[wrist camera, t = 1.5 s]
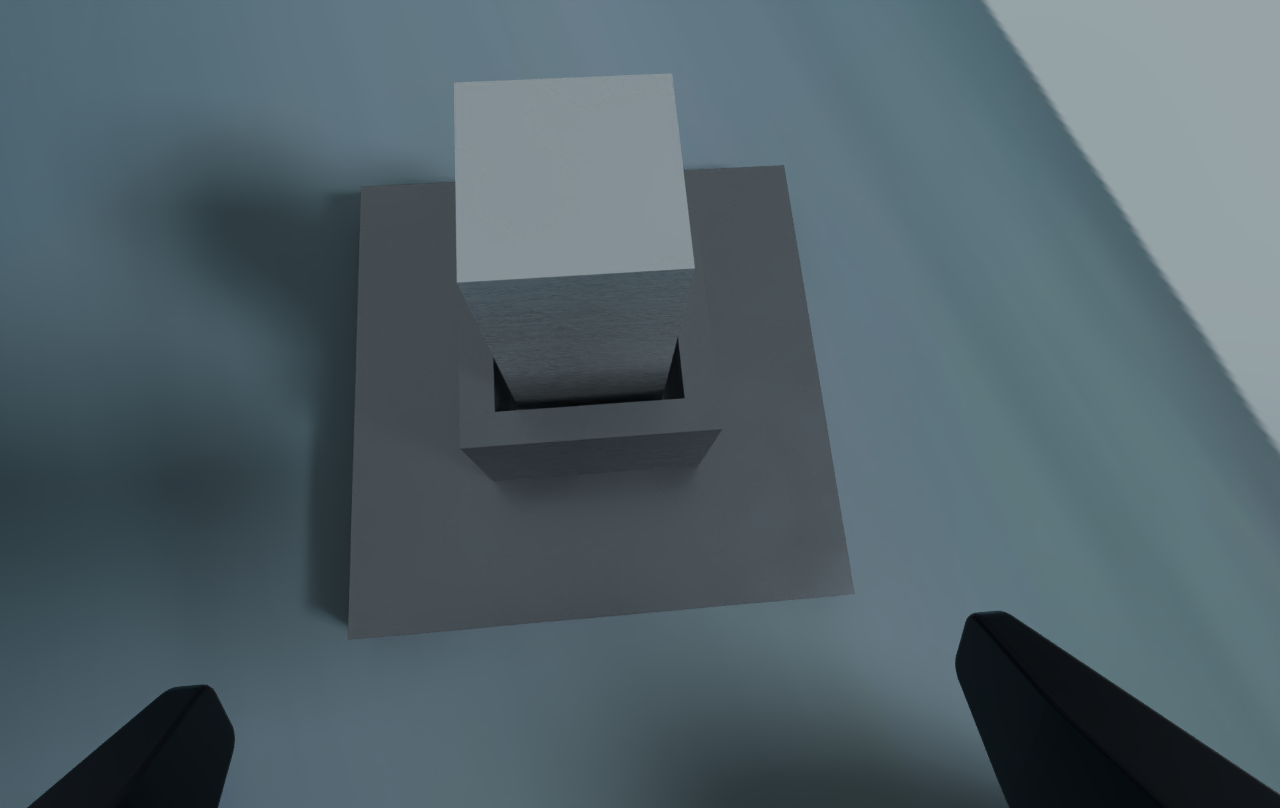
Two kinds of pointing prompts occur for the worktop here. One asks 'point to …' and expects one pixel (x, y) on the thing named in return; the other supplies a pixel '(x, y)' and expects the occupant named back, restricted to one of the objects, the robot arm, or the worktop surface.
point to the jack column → (573, 233)
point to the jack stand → (588, 440)
